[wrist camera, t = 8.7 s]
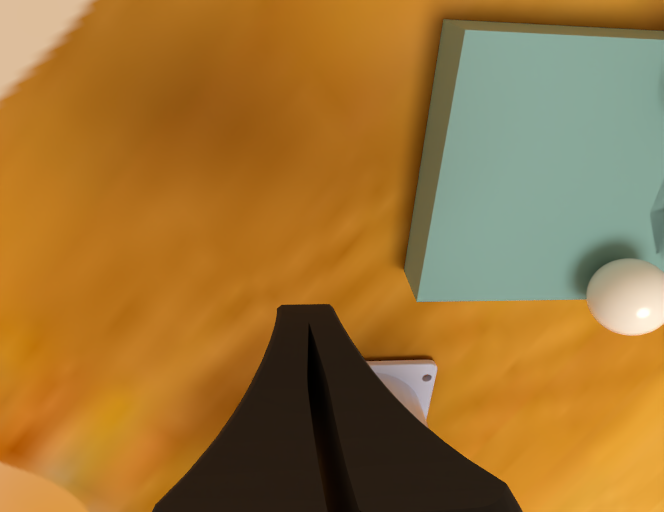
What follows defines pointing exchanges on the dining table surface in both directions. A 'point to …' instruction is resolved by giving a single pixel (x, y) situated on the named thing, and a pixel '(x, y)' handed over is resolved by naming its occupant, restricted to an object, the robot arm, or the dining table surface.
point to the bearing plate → (538, 161)
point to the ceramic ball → (627, 296)
